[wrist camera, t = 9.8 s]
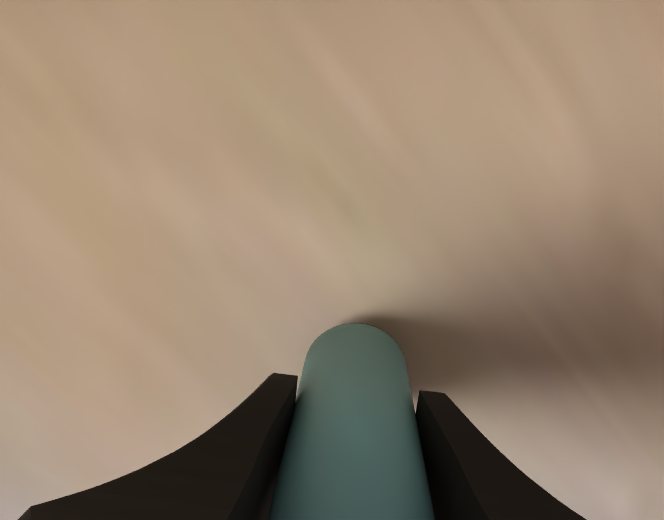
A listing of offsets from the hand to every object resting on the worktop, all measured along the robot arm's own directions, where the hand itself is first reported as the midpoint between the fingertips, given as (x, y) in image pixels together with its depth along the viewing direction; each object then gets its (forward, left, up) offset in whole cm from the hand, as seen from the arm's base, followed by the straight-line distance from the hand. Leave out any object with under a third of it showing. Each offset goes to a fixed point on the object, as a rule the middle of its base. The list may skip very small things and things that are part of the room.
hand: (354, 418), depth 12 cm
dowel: (0, 0, -2) cm, 2 cm away
